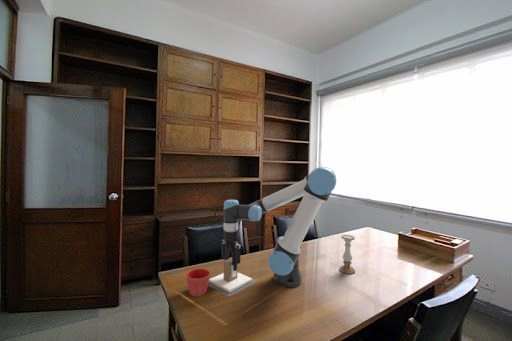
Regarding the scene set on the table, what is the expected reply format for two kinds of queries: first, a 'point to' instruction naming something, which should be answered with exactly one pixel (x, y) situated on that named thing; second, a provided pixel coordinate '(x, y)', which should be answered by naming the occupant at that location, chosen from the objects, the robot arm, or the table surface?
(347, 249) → the candle holder
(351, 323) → the table surface
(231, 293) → the mat
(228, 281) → the lid
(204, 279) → the flower pot
